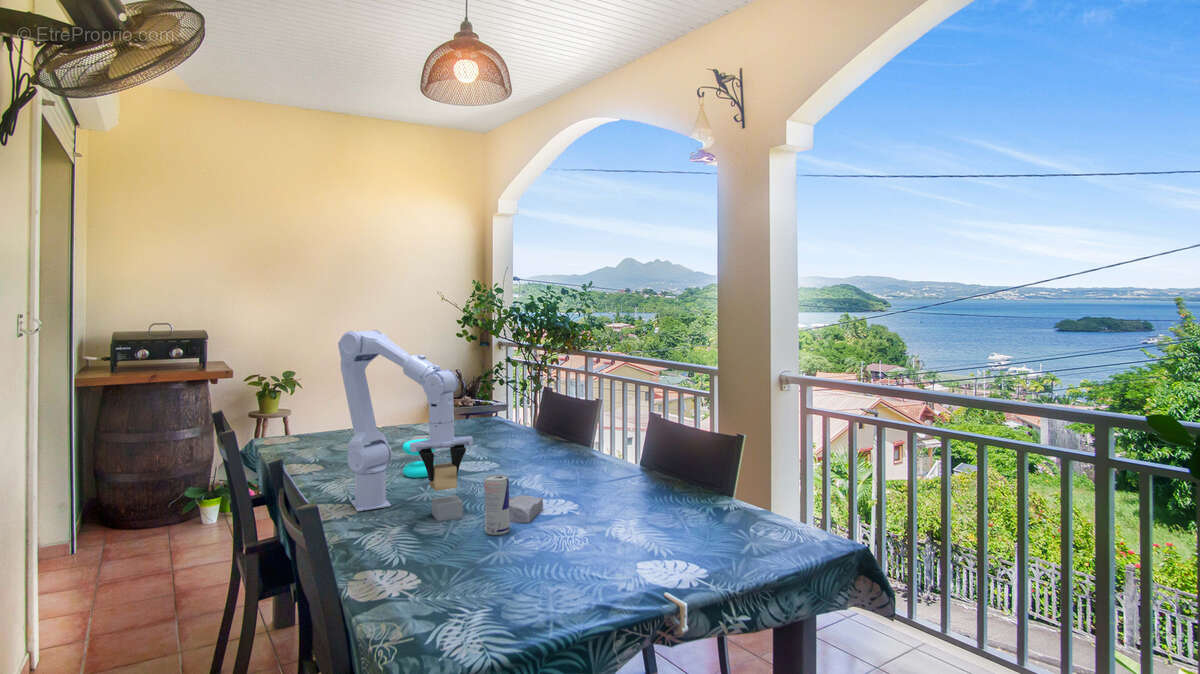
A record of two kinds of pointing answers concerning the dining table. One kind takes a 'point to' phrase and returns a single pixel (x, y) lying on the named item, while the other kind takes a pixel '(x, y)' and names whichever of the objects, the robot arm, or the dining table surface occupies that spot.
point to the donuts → (417, 467)
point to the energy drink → (496, 504)
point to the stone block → (524, 508)
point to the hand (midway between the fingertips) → (442, 478)
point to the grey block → (447, 507)
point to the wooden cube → (444, 476)
